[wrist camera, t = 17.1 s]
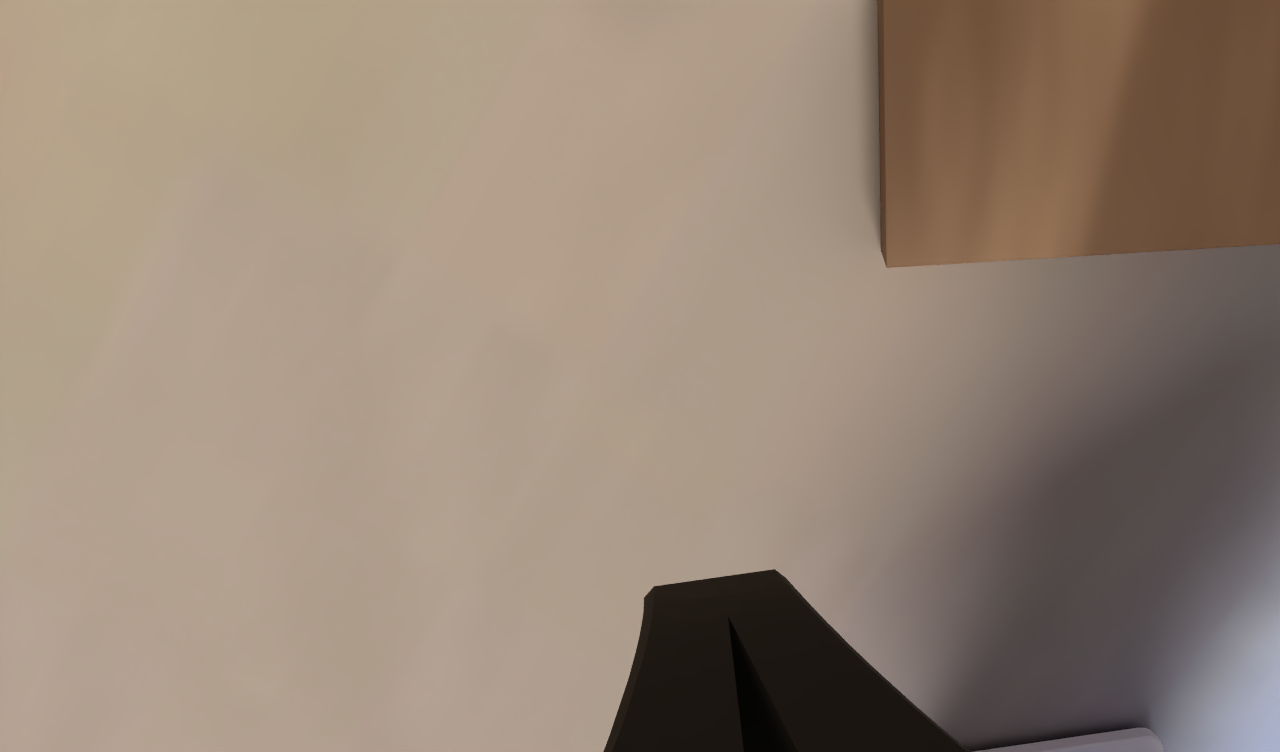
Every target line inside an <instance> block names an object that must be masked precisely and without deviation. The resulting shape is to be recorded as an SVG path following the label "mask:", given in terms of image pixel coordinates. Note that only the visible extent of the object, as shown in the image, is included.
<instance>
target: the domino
mask: <svg viewBox="0 0 1280 752" xmlns="http://www.w3.org/2000/svg"><path fill="white" fill-rule="evenodd" d="M878 64H879V133H880V202H881V252H882V255H883V258H884V261H885V264H886V267H887V268H891V267H907V266H923V265H940V264H956V263H973V262H989V261H1006V260H1022V259H1039V258H1055V257H1071V256H1088V255H1104V254H1121V253H1137V252H1154V251H1170V250H1187V249H1203V248H1219V247H1236V246H1252V245H1269V244H1280V0H878Z"/></svg>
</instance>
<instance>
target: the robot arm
mask: <svg viewBox="0 0 1280 752" xmlns="http://www.w3.org/2000/svg"><path fill="white" fill-rule="evenodd" d="M1162 751H1163V747H1162V742H1161V741H1160V740H1159V739H1158V738H1157V736H1156V735H1155V734H1154V733H1153V732H1152V731H1151V730H1150V729H1147V728H1132V729H1125V730H1118V731H1111V732H1105V733H1098V734H1091V735H1084V736H1077V737H1070V738H1063V739H1056V740H1050V741H1043V742H1036V743H1029V744H1022V745H1015V746H1008V747H1002V748H995V749H988V750H981V751H974V752H1162ZM604 752H970V751H969V750H967V749H966V748H965V747H964V746H962V745H961V744H960V743H959V742H957V741H956V740H955V739H954V738H952V737H951V736H950V735H949V734H948V733H946V732H945V731H944V730H943V729H942V728H941V727H939V726H938V725H937V724H936V723H935V722H934V721H932V720H931V719H930V718H929V717H928V716H927V715H925V714H924V713H923V712H922V711H921V710H920V709H918V708H917V707H916V706H915V705H914V704H913V703H912V702H911V701H910V700H908V699H907V698H906V697H905V696H904V695H903V694H902V693H901V692H900V691H899V690H897V689H896V688H895V687H894V686H893V685H892V684H891V683H890V682H889V681H888V680H886V679H885V678H884V677H883V676H882V675H881V674H880V673H879V672H878V671H877V670H875V669H874V668H873V667H872V666H871V665H870V664H869V663H868V662H867V661H866V660H865V659H864V658H863V657H862V656H861V655H860V654H858V653H857V652H856V651H855V650H854V649H853V648H852V647H851V646H850V645H849V644H848V643H847V642H846V641H845V640H844V639H843V638H842V637H841V636H840V635H839V634H838V633H837V632H836V631H835V630H834V629H833V628H832V627H831V626H830V625H829V624H828V623H827V622H826V621H825V620H824V619H823V618H822V617H821V616H820V615H819V613H818V612H817V611H816V610H815V609H814V608H813V607H812V606H811V605H810V604H809V603H808V602H807V601H806V600H805V599H804V598H803V596H802V595H801V594H800V593H799V592H798V591H797V590H796V589H795V588H794V587H793V585H792V584H791V583H790V582H789V581H788V580H787V579H786V578H785V577H784V576H783V575H781V574H780V573H779V572H777V571H776V570H775V569H774V570H767V571H760V572H753V573H746V574H739V575H732V576H725V577H717V578H710V579H703V580H696V581H689V582H682V583H675V584H668V585H661V586H654V587H653V588H652V590H651V591H650V592H649V593H648V594H647V595H646V596H645V598H644V613H643V620H642V627H641V632H640V637H639V641H638V646H637V650H636V653H635V657H634V661H633V665H632V668H631V672H630V676H629V679H628V682H627V685H626V688H625V691H624V694H623V697H622V700H621V703H620V706H619V709H618V712H617V715H616V718H615V721H614V724H613V727H612V730H611V733H610V736H609V739H608V741H607V744H606V747H605V749H604Z"/></svg>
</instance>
